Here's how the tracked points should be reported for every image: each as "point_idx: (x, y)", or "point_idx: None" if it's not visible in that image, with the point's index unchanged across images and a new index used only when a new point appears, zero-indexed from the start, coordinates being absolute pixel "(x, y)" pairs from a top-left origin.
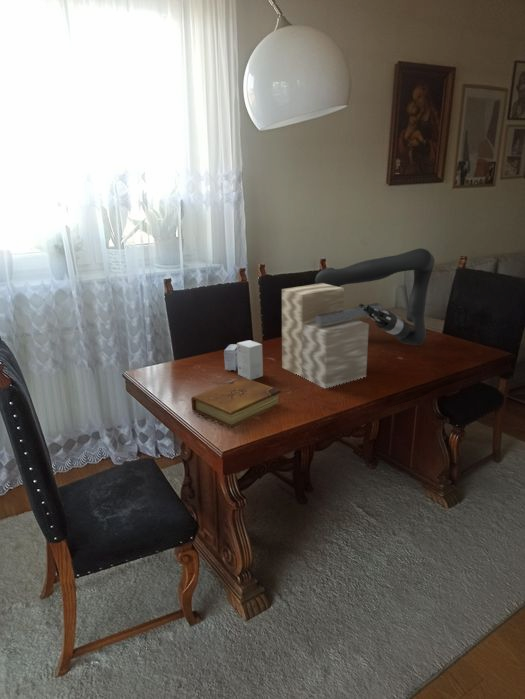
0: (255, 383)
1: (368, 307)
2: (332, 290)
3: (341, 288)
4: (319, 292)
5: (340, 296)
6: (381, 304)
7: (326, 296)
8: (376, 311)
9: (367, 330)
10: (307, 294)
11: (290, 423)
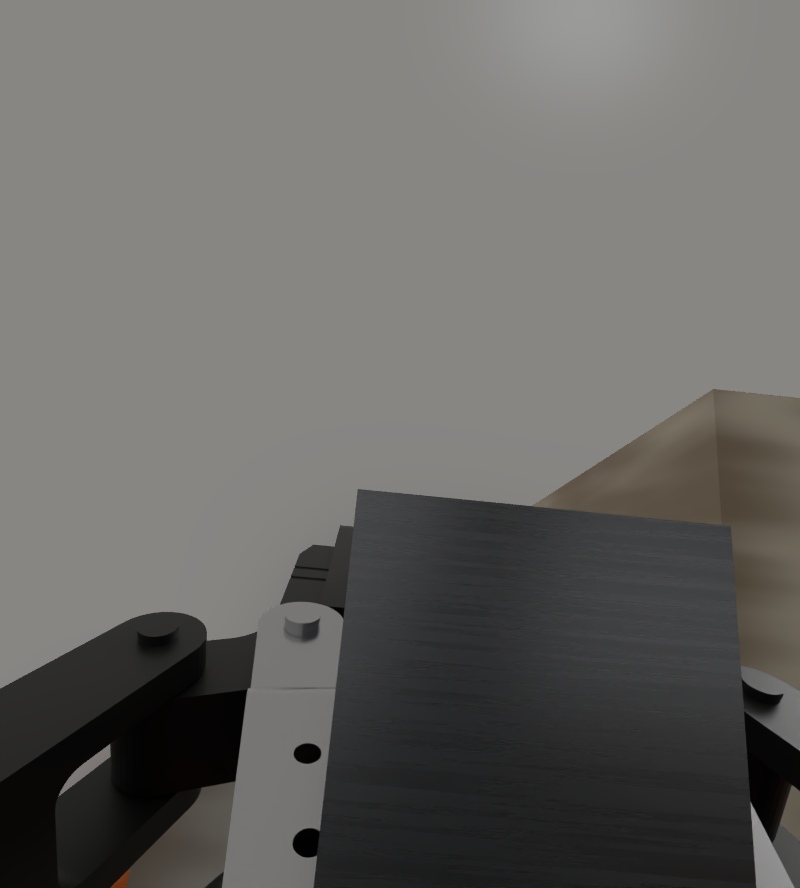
0: None
1: (325, 557)
2: (629, 448)
3: (692, 404)
4: (573, 481)
5: (688, 502)
6: (360, 495)
7: (600, 510)
8: (219, 654)
9: (134, 884)
10: (540, 502)
11: (116, 884)
